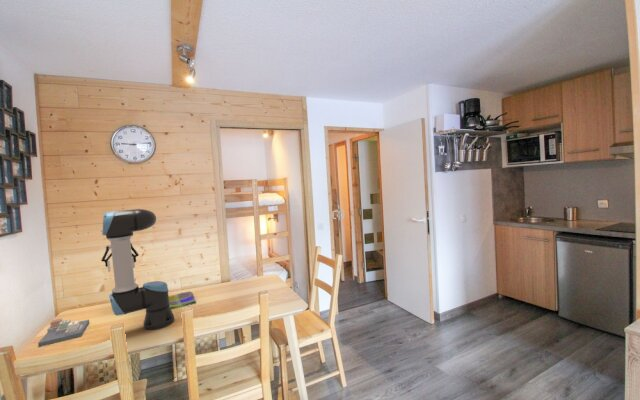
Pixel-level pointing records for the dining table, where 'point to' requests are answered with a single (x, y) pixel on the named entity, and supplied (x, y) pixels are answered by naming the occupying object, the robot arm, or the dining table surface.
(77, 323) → the cream tile
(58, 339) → the button board
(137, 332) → the dining table surface
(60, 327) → the sage tile
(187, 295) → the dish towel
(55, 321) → the terracotta tile
